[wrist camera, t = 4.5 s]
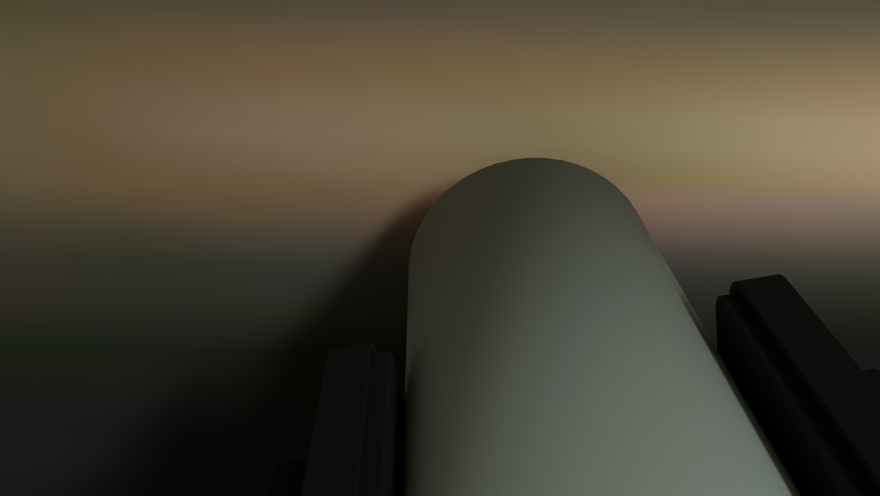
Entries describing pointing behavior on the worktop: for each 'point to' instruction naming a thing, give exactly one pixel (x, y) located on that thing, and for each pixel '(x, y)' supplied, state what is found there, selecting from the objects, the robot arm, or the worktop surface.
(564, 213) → the dowel
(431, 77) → the worktop surface
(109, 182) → the worktop surface
